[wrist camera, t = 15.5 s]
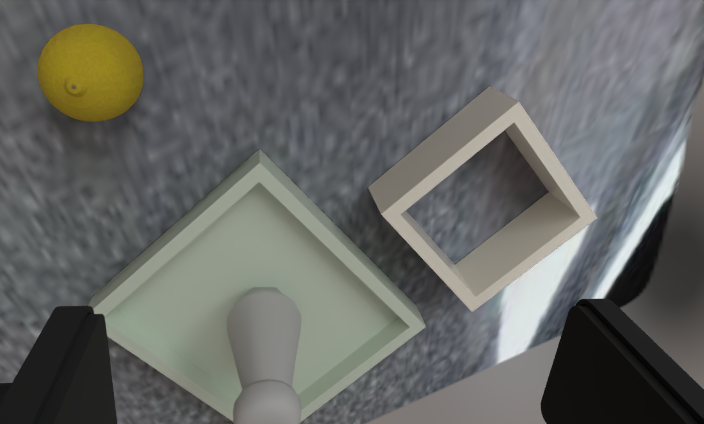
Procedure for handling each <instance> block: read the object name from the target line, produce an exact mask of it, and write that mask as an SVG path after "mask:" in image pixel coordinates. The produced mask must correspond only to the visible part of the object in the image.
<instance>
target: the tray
mask: <svg viewBox="0 0 704 424" xmlns="http://www.w3.org/2000/svg"><path fill="white" fill-rule="evenodd" d="M254 287H277V288H278V290H279V291H280V292H281V293H282V294H284V295H285V296H287V297H288V298H290V299H291V300H292V301H294V303H295V305H296V306H297V308H298V310H299V312H300V314H301V317H302V318H301V331H300V337H299V342H298V348H297V354H296V361H295V369H294V376H293V383H292V387H293V388H294V390H295V392H296V393H297V395H298V397H299V398H300V400H301V406H302V410H301V421H303V420H304V419H305V418H307V417H308V416H309V415H311V414H312V413H313V412H314V411H316V410H317V409H318V408H320V407H321V406H322V405H324V404H325V403H326V402H328V401H329V400H330V399H332V398H333V397H334V396H336V395H337V394H338V393H339V392H341V391H342V390H343V389H345V388H346V387H347V386H349V385H350V384H351V383H353V382H354V381H355V380H357V379H358V378H359V377H360V376H362V375H363V374H364V373H366V372H367V371H368V370H370V369H371V368H372V367H374V366H375V365H376V364H378V363H379V362H380V361H382V360H383V359H384V358H385V357H387V356H388V355H389V354H391V353H392V352H393V351H395V350H396V349H397V348H399V347H400V346H401V345H403V344H404V343H405V342H406V341H408V340H409V339H410V338H412V337H413V336H414V335H416V334H417V333H418V332H420V331H421V330H422V329H424V328H425V327H426V325H425V323H424V321H423V319H422V317H421V315H420V313H419V310H418V308H417V306H416V305H415V304H414V303H413V302H412V301H411V300H410V299H409V298H408V297H407V296H406V295H405V294H404V293H403V292H402V291H401V290H400V289H399V288H398V287H397V286H396V285H395V284H394V283H393V282H392V281H391V280H390V279H389V278H388V277H387V276H386V275H385V274H384V273H383V272H382V271H381V270H380V269H379V268H378V267H377V266H376V265H375V264H374V263H373V262H372V261H371V260H370V259H369V258H368V257H367V256H366V255H365V254H364V253H363V252H362V251H361V250H360V249H359V248H358V247H357V246H356V245H355V244H354V243H353V242H352V241H351V240H350V239H349V238H348V237H347V236H346V235H345V234H344V233H343V232H342V231H341V230H340V229H339V228H338V227H337V226H336V225H335V224H334V223H333V222H332V221H331V220H330V219H329V218H328V217H327V216H326V215H325V214H324V213H323V212H322V211H321V210H320V209H319V208H318V207H317V206H316V205H315V204H314V203H313V202H312V201H311V200H310V199H309V198H308V197H307V196H306V195H305V194H304V193H303V192H302V191H301V190H300V189H299V188H298V187H297V186H296V185H295V184H294V183H293V182H292V181H291V180H290V179H289V178H288V177H287V176H286V175H285V174H284V173H283V172H282V171H281V170H280V169H279V168H278V167H277V166H276V165H275V164H274V163H273V162H272V161H271V160H270V159H269V158H268V157H267V156H266V155H265V154H264V153H263V152H262V151H261V150H260V149H259V150H258V151H256V152H255V153H254V154H253V155H252V156H251V157H250V158H249V159H247V160H246V161H245V162H244V163H243V164H242V165H241V166H240V167H238V168H237V169H236V170H235V171H234V172H233V173H232V174H230V175H229V176H228V177H227V178H226V179H225V180H224V181H223V182H221V183H220V184H219V185H218V186H217V187H216V188H215V189H214V190H212V191H211V192H210V193H209V194H208V195H207V196H206V197H204V198H203V199H202V200H201V201H200V202H199V203H198V204H197V205H195V206H194V207H193V208H192V209H191V210H190V211H189V212H187V213H186V214H185V215H184V216H183V217H182V218H181V219H180V220H178V221H177V222H176V223H175V224H174V225H173V226H172V227H171V228H169V229H168V230H167V231H166V232H165V233H164V234H163V235H161V236H160V237H159V238H158V239H157V240H156V241H155V242H154V243H152V244H151V245H150V246H149V247H148V248H147V249H146V250H145V251H143V252H142V253H141V254H140V255H139V256H138V257H137V258H135V259H134V260H133V261H132V262H131V263H130V264H129V265H128V266H126V267H125V268H124V269H123V270H122V271H121V272H120V273H118V274H117V275H116V276H115V277H114V278H113V279H112V280H111V281H109V282H108V283H107V284H106V285H105V286H104V287H103V288H102V289H100V290H99V291H98V292H97V293H96V294H95V295H94V296H93V297H92V299H91V301H90V303H89V305H88V306H91V307H92V308H93V310H94V314H103V315H104V317H105V322H106V331H107V336H108V337H109V338H111V339H112V340H114V341H115V342H116V343H118V344H119V345H121V346H122V347H124V348H125V349H127V350H128V351H130V352H131V353H133V354H134V355H136V356H137V357H139V358H140V359H141V360H143V361H144V362H146V363H147V364H149V365H150V366H152V367H153V368H155V369H156V370H158V371H159V372H161V373H162V374H164V375H165V376H167V377H168V378H169V379H171V380H172V381H174V382H175V383H177V384H178V385H180V386H181V387H183V388H184V389H186V390H187V391H189V392H190V393H192V394H193V395H194V396H196V397H197V398H199V399H200V400H202V401H203V402H205V403H206V404H208V405H209V406H211V407H212V408H214V409H215V410H217V411H218V412H220V413H221V414H222V415H224V416H225V417H227V418H228V419H230V420H231V421H233V408H234V403H235V401H236V399H237V398H238V396H239V394H240V393H241V391H242V387H241V383H240V380H239V376H238V372H237V368H236V364H235V360H234V356H233V352H232V348H231V345H230V341H229V337H228V333H227V317H228V314H229V313H230V311H231V310H232V308H233V306H234V305H235V303H236V302H237V301H239V300H240V299H241V298H243V297H244V296H246V295H247V294H248V293H249V292H250V291H251V290H252V289H253V288H254ZM301 421H300V422H301Z"/></svg>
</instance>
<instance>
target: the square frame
mask: <svg viewBox="0 0 704 424" xmlns="http://www.w3.org/2000/svg"><path fill="white" fill-rule="evenodd" d="M504 130H505V131H506V133H507V134H508V135H509V137H510V138H511V140H512V141H513V142H514V144H515V145H516V147H517V148H518V150H519V151H520V152H521V154H522V155H523V157H524V158H525V159H526V161H527V162H528V164H529V165H530V166H531V168H532V169H533V171H534V172H535V173H536V175H537V176H538V178H539V179H540V180H541V182H542V183H543V185H544V186H545V187H546V189H547V190H548V193H547V194H545V195H544V196H543V197H542V198H540V199H539V200H538V201H536V202H535V203H534V204H533V205H531V206H530V207H529V208H527V209H526V210H525V211H524V212H522V213H521V214H520V215H518V216H517V217H516V218H514V219H513V220H512V221H511V222H509V223H508V224H507V225H505V226H504V227H503V228H502V229H500V230H499V231H498V232H496V233H495V234H494V235H493V236H491V237H490V238H489V239H487V240H486V241H485V242H484V243H482V244H481V245H480V246H478V247H477V248H476V249H475V250H473V251H472V252H471V253H469V254H468V255H467V256H466V257H464V258H463V259H462V260H460V261H459V262H458V263H456V264H455V265H454V264H453V262H452V261H451V260H450V259H449V258H448V257H447V256H446V255H445V254H444V252H443V251H442V250H441V249H440V248H439V247H438V246H437V245H436V244H435V242H434V241H433V240H432V239H431V238H430V237H429V236H428V235H427V234H426V232H425V231H424V230H423V229H422V228H421V227H420V226H419V225H418V224H417V222H416V221H415V220H414V219H413V218H412V217H411V216H410V215H409V214H408V212H407V211H406V210H407V209H408V208H409V207H410V206H412V205H413V204H414V203H415V202H417V201H418V200H419V199H420V198H421V197H423V196H424V195H425V194H426V193H428V192H429V191H430V190H431V189H433V188H434V187H435V186H436V185H437V184H439V183H440V182H441V181H442V180H444V179H445V178H446V177H447V176H449V175H450V174H451V173H452V172H454V171H455V170H456V169H457V168H458V167H460V166H461V165H462V164H463V163H465V162H466V161H467V160H468V159H470V158H471V157H472V156H473V155H474V154H476V153H477V152H478V151H479V150H481V149H482V148H483V147H484V146H486V145H487V144H488V143H489V142H490V141H492V140H493V139H494V138H495V137H497V136H498V135H499V134H500V133H502V132H503V131H504ZM368 188H369V191H370V193H371V195H372V197H373V199H374V201H375V203H376V205H377V207H378V209H379V211H380V213H381V215H382V216H383V217H384V218H385V219H386V220H387V221H388V222H389V223H390V224H391V225H392V226H393V228H394V229H395V230H396V231H397V232H398V233H399V234H400V235H401V236H402V237H403V238H404V239H405V240H406V241H407V243H408V244H409V245H410V246H411V247H412V248H413V249H414V250H415V251H416V252H417V253H418V254H419V255H420V257H421V258H422V259H423V260H424V261H425V262H426V263H427V264H428V265H429V266H430V267H431V268H432V269H433V270H434V272H435V273H436V274H437V275H438V276H439V277H440V278H441V279H442V280H443V281H444V282H445V283H446V284H447V286H448V287H449V288H450V289H451V290H452V291H453V292H454V293H455V294H456V295H457V296H458V297H459V298H460V299H461V301H462V302H463V303H464V304H465V305H466V306H467V307H468V308H469V309H470V310H471V311H472V312H473V311H474V310H476V309H477V308H478V307H480V306H481V305H482V304H484V303H485V302H486V301H488V300H489V299H490V298H492V297H493V296H494V295H496V294H497V293H498V292H500V291H501V290H502V289H504V288H505V287H506V286H508V285H509V284H510V283H512V282H513V281H514V280H516V279H517V278H518V277H519V276H521V275H522V274H523V273H525V272H526V271H527V270H529V269H530V268H531V267H533V266H534V265H535V264H537V263H538V262H539V261H541V260H542V259H543V258H545V257H546V256H547V255H549V254H550V253H551V252H553V251H554V250H555V249H557V248H558V247H559V246H561V245H562V244H563V243H565V242H566V241H567V240H569V239H570V238H571V237H573V236H574V235H575V234H577V233H578V232H579V231H581V230H582V229H583V228H585V227H586V226H587V225H589V224H590V223H591V222H592V221H594V220H595V219H596V218H597V216H596V215H595V213H594V212H593V211H592V209H591V208H590V206H589V205H588V203H587V202H586V200H585V199H584V197H583V196H582V194H581V193H580V191H579V190H578V188H577V187H576V185H575V184H574V182H573V181H572V179H571V178H570V177H569V175H568V174H567V172H566V171H565V169H564V168H563V166H562V165H561V163H560V162H559V160H558V159H557V157H556V156H555V154H554V153H553V151H552V150H551V148H550V147H549V145H548V144H547V143H546V141H545V140H544V138H543V137H542V135H541V134H540V132H539V131H538V129H537V128H536V126H535V125H534V123H533V122H532V120H531V119H530V117H529V116H528V114H527V113H526V111H525V110H524V109H523V107H522V106H521V104H520V103H519V101H517V100H515V99H513V98H511V97H510V96H508V95H506V94H504V93H502V92H500V91H499V90H497V89H495V88H493V87H491V86H489V87H488V88H487V89H485V90H484V91H483V92H482V93H481V94H479V95H478V96H477V97H476V98H475V99H473V100H472V101H471V102H470V103H469V104H467V105H466V106H465V107H464V108H463V109H461V110H460V111H459V112H458V113H457V114H455V115H454V116H453V117H452V118H451V119H449V120H448V121H447V122H446V123H445V124H443V125H442V126H441V127H440V128H439V129H437V130H436V131H435V132H434V133H432V134H431V135H430V136H429V137H428V138H426V139H425V140H424V141H423V142H422V143H420V144H419V145H418V146H417V147H416V148H414V149H413V150H412V151H411V152H410V153H408V154H407V155H406V156H405V157H404V158H402V159H401V160H400V161H399V162H398V163H396V164H395V165H394V166H393V167H392V168H390V169H389V170H388V171H387V172H386V173H384V174H383V175H382V176H381V177H380V178H378V179H377V180H376V181H375V182H374V183H372V184H371V185H370V186H369V187H368Z"/></svg>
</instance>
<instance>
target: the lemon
mask: <svg viewBox="0 0 704 424" xmlns="http://www.w3.org/2000/svg"><path fill="white" fill-rule="evenodd" d="M38 79H39V83H40V87H41V89H42V91H43V93H44V94H45V96H46V98H47V99H48V100H49V101H50V102H51V104H52V105H53V106H54V107H56V108H57V109H58V110H59V111H61V112H62V113H63V114H66V115H68V116H70V117H72V118H74V119H78V120H82V121H92V122H100V121H104V120H109V119H113V118H115V117H117V116H119V115H121V114H123V113H125V112H126V111H127V110H128V109H129V108H130V107H131V106H132V105H133V104H134V103H135V102H136V100H137V99H138V97H139V95H140V93H141V91H142V86H143V82H144V68H143V65H142V61H141V58H140V56H139V54H138V52H137V51H136V49H135V47H134V46H133V45H132V44H131V43H130V42H129V41H128V40H127V38H125V37H124V36H122V35H121V34H120V33H118V32H117V31H115V30H112V29H110V28H108V27H105V26H101V25H96V24H78V25H74V26H71V27H68V28H65V29H63V30H61V31H60V32H58V33H57V34H56V35H54V36H53V37H52V38H51V39H50V40H49V41H48V43H47V44H46V45H45V47H44V48H43V50H42V52H41V55H40V58H39V61H38Z"/></svg>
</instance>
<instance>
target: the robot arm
mask: <svg viewBox="0 0 704 424" xmlns="http://www.w3.org/2000/svg"><path fill="white" fill-rule="evenodd" d="M541 412H542V415H543V418H544V420H545V422H546V423H547V424H704V389H703V388H701V386H699V385H698V384H697V383H696V382H695V381H694V380H693V379H692V378H691V377H690V376H689V375H688V374H687V373H686V372H685V371H684V370H683V369H682V368H681V367H680V366H679V365H678V364H677V363H676V362H675V361H674V360H673V359H672V358H671V357H669V356H668V355H667V354H666V353H665V352H664V351H663V350H662V349H661V348H660V347H659V346H658V345H657V344H656V343H655V342H654V341H653V340H652V339H651V338H650V337H649V336H648V335H647V334H646V333H645V332H644V331H642V330H641V329H640V328H639V327H638V326H637V325H636V324H635V323H634V322H633V321H632V320H631V319H630V318H629V317H628V316H627V315H626V314H625V313H624V312H623V311H622V310H621V309H620V308H619V307H618V306H617V305H616V304H615V303H614V302H612V301H611V300H609V299H582V300H579V301H578V302H577V304H576V306H573V307H572V308H571V309H570V311H569V313H568V316H567V319H566V323H565V326H564V329H563V332H562V335H561V339H560V342H559V345H558V348H557V352H556V355H555V359H554V362H553V365H552V368H551V371H550V374H549V377H548V381H547V384H546V387H545V390H544V394H543V397H542V400H541ZM0 424H117V418H116V410H115V401H114V392H113V383H112V375H111V366H110V357H109V349H108V340H107V331H106V322H105V317H104V315H103V314H94V310H93V308H92V307H91V306H58V307H56V308H55V309H54V311H53V312H52V314H51V316H50V318H49V319H48V321H47V323H46V325H45V326H44V328H43V330H42V332H41V333H40V335H39V337H38V339H37V340H36V342H35V344H34V346H33V348H32V349H31V351H30V353H29V355H28V356H27V358H26V360H25V362H24V363H23V365H22V367H21V369H20V370H19V372H18V374H17V376H16V377H15V379H14V381H13V383H0Z"/></svg>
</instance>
